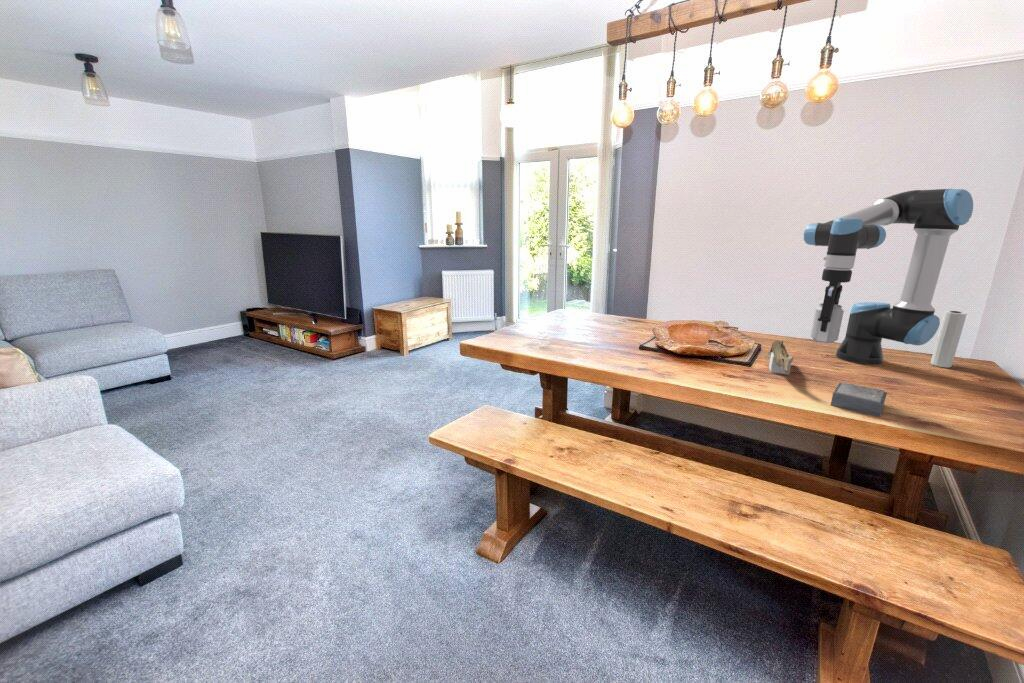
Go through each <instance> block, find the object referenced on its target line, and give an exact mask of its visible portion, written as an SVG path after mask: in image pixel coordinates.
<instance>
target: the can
mask: <svg viewBox="0 0 1024 683" xmlns="http://www.w3.org/2000/svg"><path fill="white" fill-rule="evenodd" d="M822 306H823V302H822V303H819V304H818V306H817V307H816V308H815V311H814V316H813V323H812V327H811V331H810V332H811V333H810V337H811V339H812V340H813V341H815V342H819V343H825V344H827V343H828V344H832V343H833V344H834V343H835V342H836V341H838V340H839V335H840V331H841V327H842V326H841V325H842V320H843V317H844V312H845V311H844V310H843V306H842V305H841V304H838V305H837V304H834V307H833V311H832V315H831V319H830V322H831V323H830V328H829V333H828V337H827V342H823V341H817V335H818V329H819V324H820V321H818V319H819V318H820V315H821V311H822ZM824 317H825V316H824Z"/></svg>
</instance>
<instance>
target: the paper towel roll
mask: <svg viewBox="0 0 1024 683" xmlns="http://www.w3.org/2000/svg"><path fill="white" fill-rule="evenodd" d="M967 315H968V313H966V312H964V311H961V310H959V311H957V310H944V313H943V317H942V320H941V322H940V326H939V327H940V328H939V329H938V330H939V331H938V335H937V338H936V340H935V342H936V343H935V345H934V349H933V353H932V356H931V359H930V364H931V365H932V366H935V367H939V368H940V367H941V368H947V369H948V368H952V366H953V362H954V359H955V356H956V352H957V349H958V346H959V342H960V339H961V336H962V332H963V329H964V325H965V322H966V318H967Z"/></svg>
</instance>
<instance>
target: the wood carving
mask: <svg viewBox="0 0 1024 683" xmlns="http://www.w3.org/2000/svg"><path fill="white" fill-rule="evenodd" d="M764 359H769V366H768V369H769V372H770V373H772V374H773V373H775V374H782V375H788V376H789V375H790V374H791V367H792V363H793V361H794V356H791V354H789V353H788V350H787V349H786V346H785V344H784V340H781V341H780V340H774V341H773V342H772V345H771V348H770V349H769V351H768V353H767V354H766V355H765V357H764Z"/></svg>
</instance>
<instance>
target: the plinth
mask: <svg viewBox="0 0 1024 683" xmlns="http://www.w3.org/2000/svg"><path fill="white" fill-rule="evenodd" d="M887 394H888V392H887V391H884V390H882V389H877V388H872V387H868V386H865V385H860V384H854V383H849V382H845V381H844V382H843V381H842V382H839V383H838V384H837V386H836V388H835V389H834V391H833V392H832V397H831V401H830V406H833V407H837V408H841V409H846V410H849V411H854V412H857V413H863V414H866V415H871V416H875V417H882V416H881V415H882V412H883V409H884V407H885V402H886V398H887Z"/></svg>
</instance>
